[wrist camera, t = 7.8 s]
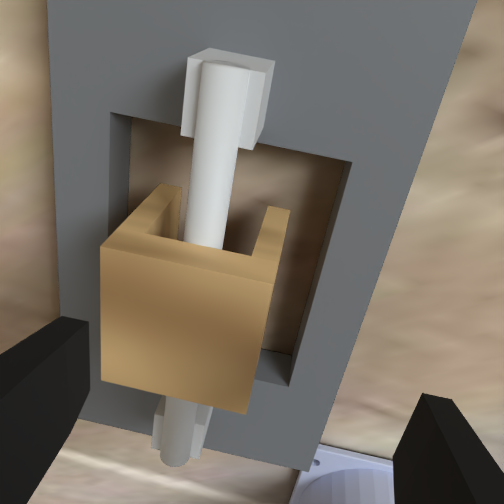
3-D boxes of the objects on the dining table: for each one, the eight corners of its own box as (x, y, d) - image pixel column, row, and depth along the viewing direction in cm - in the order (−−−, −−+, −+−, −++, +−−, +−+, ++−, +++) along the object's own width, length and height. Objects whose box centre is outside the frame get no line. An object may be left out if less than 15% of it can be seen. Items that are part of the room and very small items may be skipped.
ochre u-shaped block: (266, 320, 19) (246, 415, 15) (153, 295, 20) (100, 380, 15) (290, 210, 17) (273, 283, 12) (160, 183, 17) (100, 246, 13)
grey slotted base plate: (310, 437, 24) (306, 537, 20) (82, 385, 25) (29, 471, 20) (459, -3, 14) (519, -1, 10) (76, -76, 15) (-32, -106, 10)
